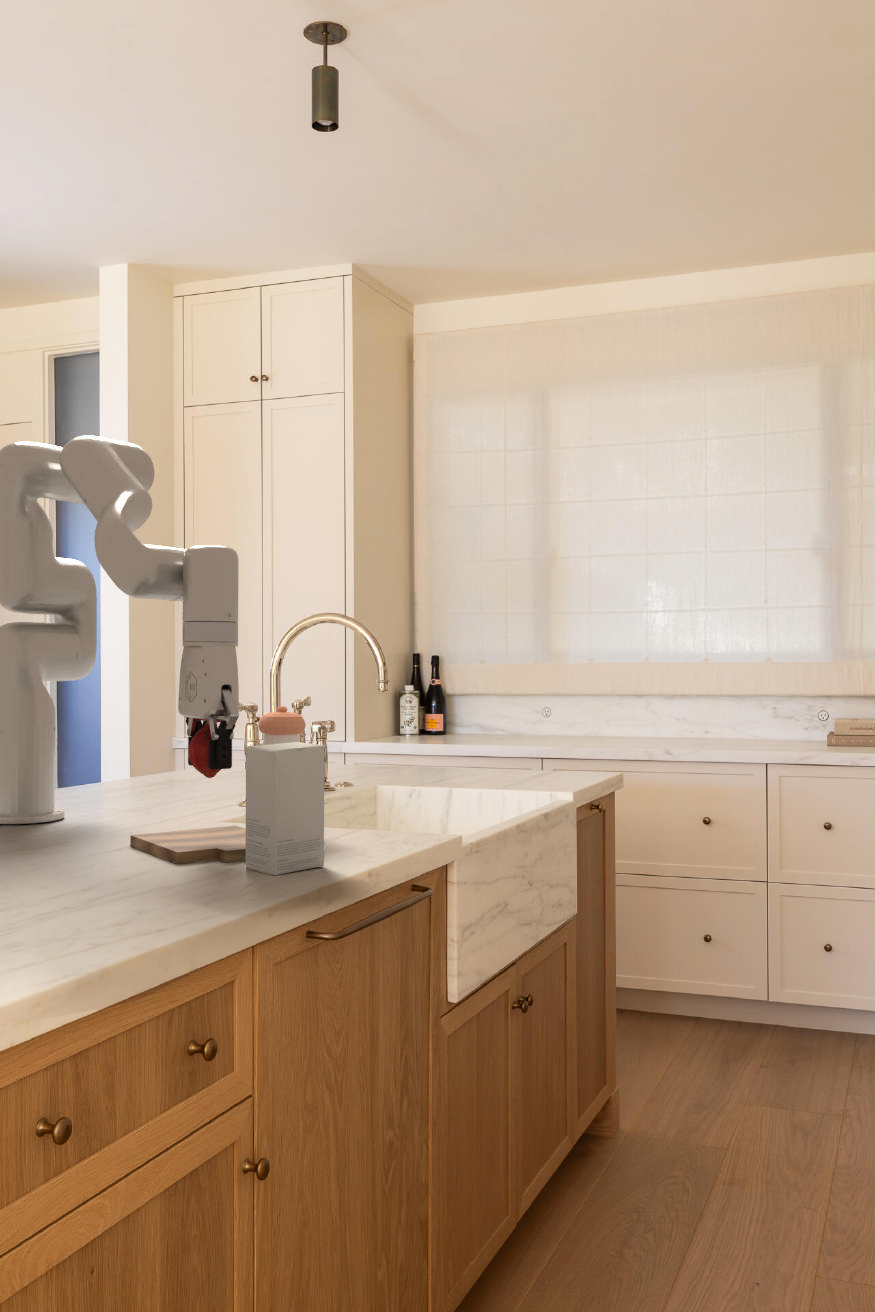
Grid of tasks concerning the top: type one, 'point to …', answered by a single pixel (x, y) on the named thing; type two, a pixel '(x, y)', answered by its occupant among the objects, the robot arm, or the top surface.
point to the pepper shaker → (281, 726)
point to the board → (195, 844)
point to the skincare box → (284, 807)
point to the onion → (201, 751)
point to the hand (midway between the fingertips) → (209, 765)
